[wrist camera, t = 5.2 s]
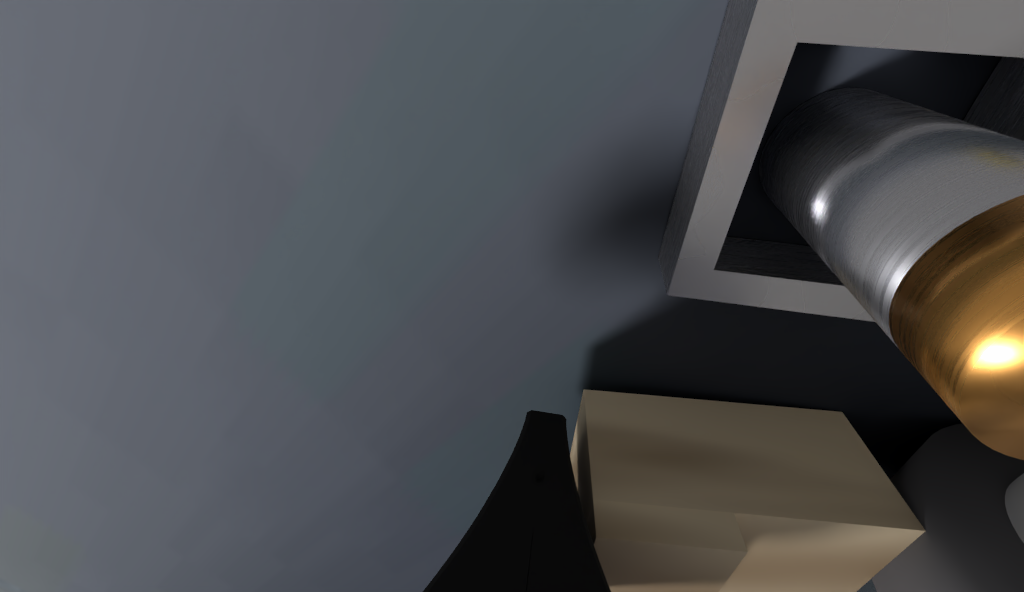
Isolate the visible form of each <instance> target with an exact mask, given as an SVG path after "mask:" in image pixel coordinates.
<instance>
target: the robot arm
mask: <svg viewBox="0 0 1024 592" xmlns="http://www.w3.org/2000/svg"><path fill="white" fill-rule="evenodd" d="M423 592H611V590H610V588H609V585H608V583H607V580H606V577H605V575H604V572H603V569H602V567H601V564H600V561H599V558H598V556H597V553H596V550H595V547H594V544H593V541H592V538H591V535H590V532H589V528H588V525H587V522H586V519H585V516H584V512H583V508H582V505H581V501H580V497H579V493H578V489H577V486H576V482H575V478H574V473H573V469H572V464H571V458H570V453H569V447H568V440H567V430H566V418H565V417H564V416H563V415H558V414H552V413H546V412H540V411H533V410H531V411H529V412H527V415H526V419H525V423H524V426H523V429H522V431H521V434H520V437H519V439H518V441H517V444H516V446H515V448H514V450H513V453H512V455H511V457H510V459H509V461H508V463H507V465H506V467H505V469H504V471H503V472H502V474H501V476H500V478H499V480H498V482H497V484H496V486H495V487H494V489H493V491H492V492H491V494H490V496H489V497H488V499H487V501H486V503H485V504H484V506H483V508H482V509H481V511H480V513H479V514H478V516H477V517H476V519H475V520H474V522H473V523H472V525H471V527H470V528H469V530H468V531H467V533H466V534H465V535H464V537H463V538H462V540H461V541H460V543H459V544H458V546H457V547H456V548H455V550H454V551H453V553H452V554H451V555H450V557H449V558H448V559H447V561H446V562H445V563H444V565H443V566H442V567H441V569H440V570H439V572H438V573H437V574H436V576H435V577H434V578H433V579H432V581H431V582H430V583H429V585H428V586H427V587H426V588H425V590H424V591H423Z"/></svg>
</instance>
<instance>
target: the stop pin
mask: <svg viewBox="0 0 1024 592" xmlns="http://www.w3.org/2000/svg"><path fill="white" fill-rule="evenodd" d="M759 176H760V182H761V185H762V188H763V189H764V191H765V193H766V195H767V196H768V197H769V199H770V200H771V201H772V202H773V203H774V204H775V205H776V207H777V208H778V209H779V210H780V211H781V212H782V214H783V215H784V216H785V217H786V218H787V219H788V221H789V222H790V223H791V224H792V225H793V226H794V228H795V229H796V230H797V231H798V232H799V233H800V235H801V236H802V237H803V238H804V239H805V240H806V242H807V243H808V244H809V245H810V246H811V247H812V249H813V250H814V251H815V252H816V253H817V254H818V256H819V257H820V258H821V259H822V260H823V261H824V263H825V264H826V265H827V266H828V267H829V268H830V269H831V271H832V272H833V273H834V274H835V275H836V276H837V278H838V279H839V280H840V281H841V282H842V283H843V285H844V286H845V287H846V288H847V289H848V290H849V292H850V293H851V294H852V295H853V296H854V297H855V299H856V300H857V301H858V302H859V303H860V304H861V306H862V307H863V308H864V309H865V310H866V311H867V313H868V314H869V315H870V316H871V317H872V318H873V320H874V321H875V322H876V323H877V324H878V325H879V327H880V328H881V329H882V330H883V331H884V332H885V333H886V335H887V336H888V337H889V338H890V339H891V340H892V342H893V343H894V344H895V345H896V346H897V347H898V349H899V350H900V351H901V352H902V353H903V354H904V356H905V357H906V358H907V359H908V360H909V361H910V363H911V364H912V365H913V366H914V367H915V368H916V370H917V371H918V372H919V373H920V374H921V375H922V377H923V378H924V379H925V380H926V381H927V382H928V384H929V385H930V386H931V387H932V388H933V389H934V390H935V392H936V393H937V394H938V395H939V396H940V397H941V399H942V400H943V401H944V402H945V403H946V404H947V406H948V407H949V408H950V409H951V410H952V411H953V413H954V414H955V415H956V416H957V417H958V418H959V420H960V421H961V422H962V423H963V424H964V425H965V427H966V428H967V429H968V430H969V431H970V432H971V434H972V435H973V436H975V437H976V438H977V439H978V440H979V441H980V442H981V443H983V444H985V445H986V446H988V447H989V448H991V449H993V450H995V451H997V452H1000V453H1002V454H1004V455H1007V456H1010V457H1014V458H1017V459H1020V460H1024V141H1021V140H1019V139H1016V138H1013V137H1010V136H1007V135H1004V134H1001V133H998V132H995V131H992V130H989V129H986V128H983V127H980V126H977V125H974V124H971V123H968V122H965V121H962V120H959V119H956V118H953V117H950V116H947V115H944V114H941V113H938V112H935V111H932V110H929V109H926V108H923V107H921V106H918V105H915V104H912V103H909V102H906V101H903V100H900V99H897V98H894V97H891V96H888V95H885V94H882V93H879V92H876V91H873V90H869V89H864V88H842V89H837V90H832V91H829V92H826V93H823V94H820V95H818V96H816V97H813V98H811V99H809V100H808V101H806V102H804V103H803V104H801V105H799V106H798V107H797V108H795V109H794V110H793V111H791V112H790V113H789V114H788V115H787V116H786V117H785V118H784V119H783V120H782V121H781V122H780V123H779V124H778V125H777V126H776V128H775V129H774V130H773V132H772V133H771V135H770V137H769V138H768V140H767V142H766V144H765V146H764V148H763V151H762V154H761V158H760V164H759Z"/></svg>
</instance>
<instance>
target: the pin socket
mask: <svg viewBox="0 0 1024 592" xmlns="http://www.w3.org/2000/svg"><path fill="white" fill-rule="evenodd" d="M797 42H801V43H815V44H830V45H845V46H859V47H874V48H888V49H903V50H918V51H932V52H947V53H961V54H976V55H990V56H1002V57H1001V59H1000V61H999V62H998V64H997V66H996V67H995V69H994V70H993V72H992V74H991V75H990V77H989V79H988V80H987V82H986V84H985V85H984V87H983V89H982V90H981V92H980V93H979V95H978V97H977V98H976V100H975V102H974V103H973V105H972V107H971V108H970V110H969V112H968V113H967V115H966V116H965V118H964V120H963V121H965V122H968V123H971V124H974V125H977V126H980V127H983V128H986V129H989V130H992V131H995V132H998V133H1001V134H1004V135H1007V136H1010V137H1013V138H1016V139H1019V140H1021V141H1024V0H729V3H728V6H727V10H726V14H725V17H724V21H723V25H722V28H721V32H720V35H719V39H718V43H717V46H716V50H715V53H714V57H713V61H712V64H711V68H710V72H709V75H708V79H707V82H706V86H705V90H704V93H703V97H702V100H701V104H700V108H699V111H698V115H697V118H696V122H695V126H694V129H693V133H692V137H691V140H690V144H689V147H688V151H687V155H686V158H685V162H684V165H683V169H682V173H681V176H680V180H679V184H678V187H677V191H676V194H675V198H674V202H673V205H672V209H671V212H670V216H669V220H668V223H667V227H666V230H665V234H664V238H663V241H662V245H661V249H660V252H659V256H658V258H659V263H660V267H661V271H662V275H663V280H664V284H665V288H666V292H667V295H670V296H678V297H685V298H693V299H701V300H709V301H717V302H724V303H732V304H740V305H748V306H755V307H763V308H771V309H779V310H787V311H794V312H802V313H810V314H818V315H825V316H833V317H841V318H849V319H857V320H864V321H872V322H875V321H874V320H873V318H872V317H871V316H870V315H869V314H868V313H867V311H866V310H865V309H864V308H863V307H862V306H861V304H860V303H859V302H858V301H857V300H856V299H855V297H854V296H853V295H852V294H851V293H850V292H849V290H848V289H847V288H846V287H845V286H844V285H843V283H842V282H841V281H840V280H839V279H838V278H837V276H836V275H835V274H834V273H833V272H832V271H831V269H830V268H829V267H828V266H827V265H826V264H825V263H824V261H823V260H822V259H821V258H820V257H819V256H818V254H817V253H816V252H815V251H814V250H813V249H812V247H811V246H805V245H796V244H787V243H778V242H770V241H761V240H752V239H743V238H734V237H726V235H727V232H728V230H729V227H730V224H731V221H732V219H733V216H734V213H735V210H736V208H737V205H738V202H739V200H740V197H741V194H742V191H743V189H744V186H745V183H746V180H747V178H748V175H749V172H750V170H751V167H752V164H753V161H754V159H755V156H756V153H757V151H758V148H759V145H760V142H761V140H762V137H763V134H764V131H765V129H766V126H767V123H768V121H769V118H770V115H771V112H772V110H773V107H774V104H775V101H776V99H777V96H778V93H779V91H780V88H781V85H782V82H783V80H784V77H785V74H786V72H787V69H788V66H789V63H790V61H791V58H792V55H793V52H794V50H795V47H796V44H797Z"/></svg>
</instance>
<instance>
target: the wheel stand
mask: <svg viewBox="0 0 1024 592" xmlns="http://www.w3.org/2000/svg"><path fill="white" fill-rule="evenodd" d="M890 481H891V482H892V484H893V485H894V486H895V488H896V489H897V491H898V492H899V494H900V495H901V496H902V498H903V499H904V501H905V502H906V503H907V505H908V506H909V508H910V509H911V511H912V512H913V513H914V515H915V516H916V518H917V519H918V521H919V522H920V523H921V525H922V526H923V528H924V529H925V532H924V533H923V534H922V535H921V536H919V537H918V538H917V539H916V540H915V541H914V542H913V543H911V544H910V545H909V546H908V547H907V548H906V549H905V550H903V551H902V552H901V553H900V554H899V555H898V556H896V557H895V558H894V559H893V560H892V561H891V562H890V563H888V564H887V565H886V566H885V567H884V568H883V569H882V570H880V571H879V572H878V573H877V574H876V575H875V576H874V577H872V580H873V583H874V585H875V588H876V590H877V592H1024V460H1020V459H1017V458H1014V457H1010V456H1007V455H1004V454H1002V453H1000V452H997V451H995V450H993V449H991V448H989V447H988V446H986V445H985V444H983V443H981V442H980V441H979V440H978V439H977V438H976V437H975V436H973V435H972V434H971V432H970V431H969V430H968V429H967V428H966V427H965V425H964V424H955V425H952V426H949V427H945V428H942V429H941V430H939V431H937V432H935V433H934V434H932V435H931V436H930V437H929V439H928V440H927V441H926V442H925V443H924V444H923V445H922V446H921V447H920V448H919V449H918V450H917V451H916V452H915V453H914V454H913V455H912V457H911V458H910V459H909V460H908V461H907V462H906V463H905V464H904V465H903V466H902V467H901V468H900V469H899V470H898V472H897V473H896V474H895V475H894V476H893V477H892V478H891V479H890Z"/></svg>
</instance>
